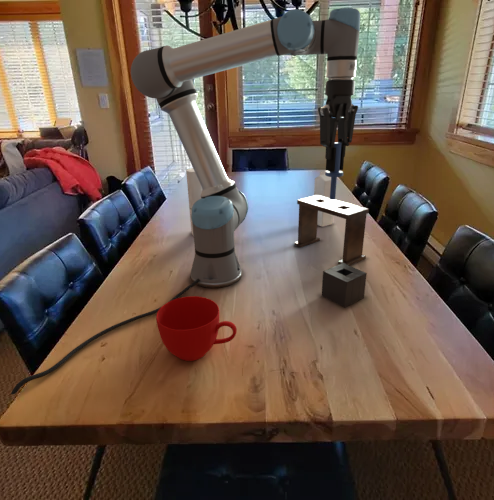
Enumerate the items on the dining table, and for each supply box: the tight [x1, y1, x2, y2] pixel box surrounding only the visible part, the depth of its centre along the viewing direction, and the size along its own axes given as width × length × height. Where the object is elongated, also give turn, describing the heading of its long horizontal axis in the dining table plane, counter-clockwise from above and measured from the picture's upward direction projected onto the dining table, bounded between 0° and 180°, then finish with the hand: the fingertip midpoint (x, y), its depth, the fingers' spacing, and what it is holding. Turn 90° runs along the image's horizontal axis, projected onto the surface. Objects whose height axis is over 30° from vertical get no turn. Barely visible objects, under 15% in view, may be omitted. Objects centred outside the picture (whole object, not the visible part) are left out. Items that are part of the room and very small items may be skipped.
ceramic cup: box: [155, 295, 238, 362], centre depth 79 cm, size 13×17×10 cm
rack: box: [293, 195, 370, 266], centre depth 126 cm, size 10×24×17 cm, turn 38°
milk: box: [313, 170, 334, 228], centre depth 151 cm, size 6×6×22 cm
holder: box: [321, 263, 368, 308], centre depth 100 cm, size 8×8×8 cm
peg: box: [325, 141, 344, 200], centre depth 106 cm, size 5×5×16 cm
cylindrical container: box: [185, 167, 203, 237], centre depth 142 cm, size 7×7×25 cm
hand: (334, 169), depth 106 cm, fingers closed on peg, 3 cm apart
